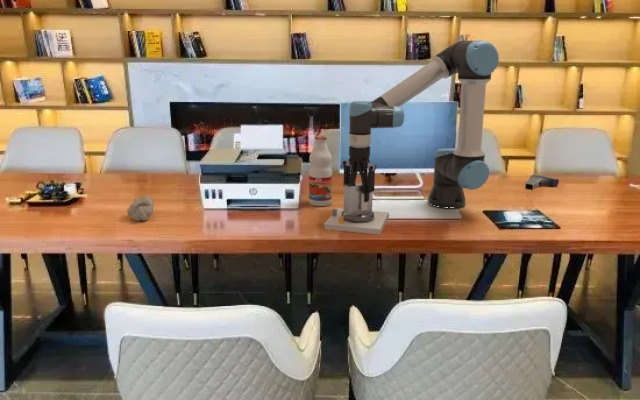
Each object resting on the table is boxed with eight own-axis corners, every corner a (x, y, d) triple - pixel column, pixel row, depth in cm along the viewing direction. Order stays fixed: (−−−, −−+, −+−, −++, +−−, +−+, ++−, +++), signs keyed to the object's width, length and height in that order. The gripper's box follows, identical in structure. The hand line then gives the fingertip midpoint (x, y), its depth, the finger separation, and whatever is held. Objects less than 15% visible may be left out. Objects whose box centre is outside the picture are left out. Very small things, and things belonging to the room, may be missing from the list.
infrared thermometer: (522, 190, 247) (531, 182, 259) (550, 195, 240) (558, 186, 252) (523, 181, 246) (532, 173, 257) (551, 185, 239) (559, 176, 250)
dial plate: (388, 217, 205) (389, 206, 204) (379, 234, 187) (380, 222, 185) (338, 212, 210) (338, 201, 209) (324, 229, 192) (324, 217, 191)
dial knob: (363, 210, 206) (364, 178, 202) (380, 219, 195) (381, 186, 192) (335, 214, 200) (336, 182, 197) (351, 224, 190) (352, 190, 187)
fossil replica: (135, 225, 195) (161, 221, 202) (136, 204, 193) (161, 200, 200) (121, 215, 203) (145, 212, 210) (121, 194, 201) (146, 192, 208)
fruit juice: (334, 201, 225) (335, 134, 217) (328, 207, 217) (329, 138, 209) (312, 199, 228) (312, 133, 220) (306, 205, 219) (305, 137, 211)
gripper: (333, 143, 193) (332, 205, 200) (373, 150, 182) (371, 215, 188) (346, 141, 199) (345, 201, 205) (386, 147, 187) (384, 211, 194)
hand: (358, 208), depth 197 cm, fingers closed on dial knob, 5 cm apart
